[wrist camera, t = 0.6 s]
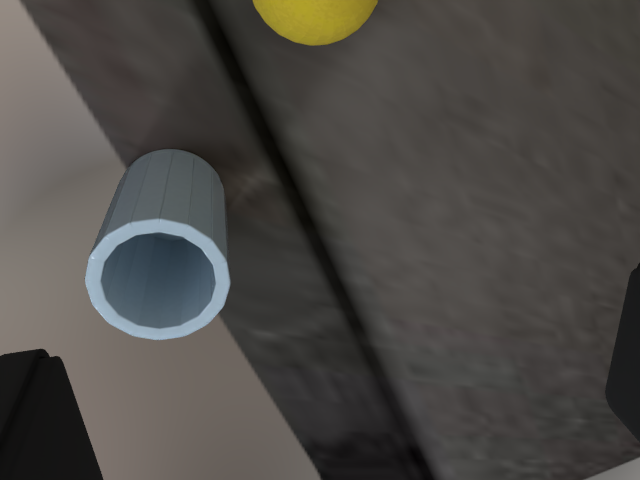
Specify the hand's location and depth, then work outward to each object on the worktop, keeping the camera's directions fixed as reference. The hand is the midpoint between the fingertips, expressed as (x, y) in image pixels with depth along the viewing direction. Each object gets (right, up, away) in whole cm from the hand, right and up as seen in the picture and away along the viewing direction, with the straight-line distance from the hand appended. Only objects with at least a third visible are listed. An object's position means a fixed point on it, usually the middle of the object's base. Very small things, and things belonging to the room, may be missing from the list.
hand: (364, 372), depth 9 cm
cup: (-9, +4, +22) cm, 24 cm away
